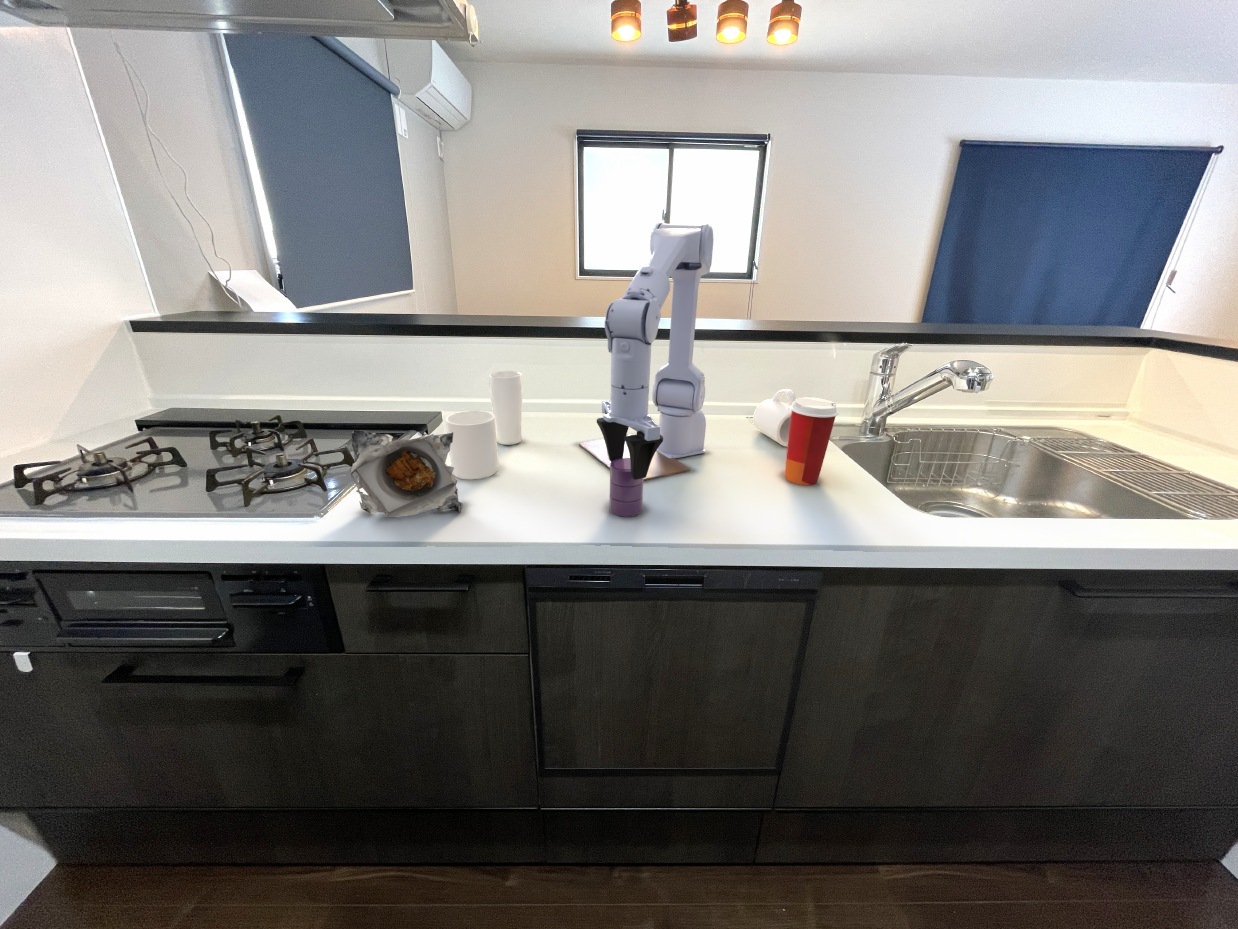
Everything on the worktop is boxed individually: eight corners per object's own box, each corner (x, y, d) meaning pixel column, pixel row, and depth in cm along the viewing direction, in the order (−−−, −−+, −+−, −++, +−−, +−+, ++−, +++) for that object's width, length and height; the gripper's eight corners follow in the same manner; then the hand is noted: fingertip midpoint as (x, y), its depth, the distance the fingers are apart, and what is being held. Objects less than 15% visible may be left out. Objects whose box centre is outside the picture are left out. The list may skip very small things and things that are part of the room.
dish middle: (632, 484, 83) (632, 470, 82) (649, 497, 79) (649, 482, 78) (603, 490, 81) (604, 475, 80) (619, 504, 77) (619, 489, 76)
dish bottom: (631, 498, 84) (632, 484, 83) (648, 512, 80) (649, 497, 79) (603, 505, 82) (603, 490, 81) (619, 519, 78) (619, 504, 77)
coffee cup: (823, 473, 96) (838, 399, 90) (824, 491, 89) (841, 411, 83) (778, 467, 99) (790, 394, 93) (776, 483, 92) (789, 405, 86)
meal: (463, 502, 82) (455, 427, 76) (459, 515, 78) (450, 437, 73) (368, 506, 80) (352, 429, 74) (358, 519, 76) (342, 439, 71)
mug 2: (780, 430, 119) (788, 382, 115) (806, 445, 110) (816, 393, 105) (750, 433, 117) (757, 383, 112) (774, 448, 108) (782, 395, 103)
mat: (634, 435, 114) (634, 433, 113) (690, 470, 96) (690, 468, 96) (578, 444, 107) (578, 442, 107) (628, 484, 90) (628, 482, 90)
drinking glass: (518, 448, 104) (514, 378, 98) (488, 445, 105) (482, 376, 100) (529, 437, 110) (526, 371, 104) (501, 434, 112) (496, 369, 106)
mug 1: (497, 454, 101) (493, 404, 97) (499, 478, 90) (495, 423, 86) (454, 457, 99) (448, 406, 95) (450, 482, 88) (443, 426, 84)
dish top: (632, 470, 82) (633, 455, 81) (649, 482, 78) (650, 467, 77) (604, 475, 80) (604, 460, 79) (619, 489, 76) (620, 473, 74)
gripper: (584, 376, 77) (584, 456, 82) (630, 400, 65) (627, 491, 71) (624, 372, 80) (621, 450, 85) (674, 394, 68) (668, 482, 74)
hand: (627, 468), depth 78 cm, fingers open, 7 cm apart
